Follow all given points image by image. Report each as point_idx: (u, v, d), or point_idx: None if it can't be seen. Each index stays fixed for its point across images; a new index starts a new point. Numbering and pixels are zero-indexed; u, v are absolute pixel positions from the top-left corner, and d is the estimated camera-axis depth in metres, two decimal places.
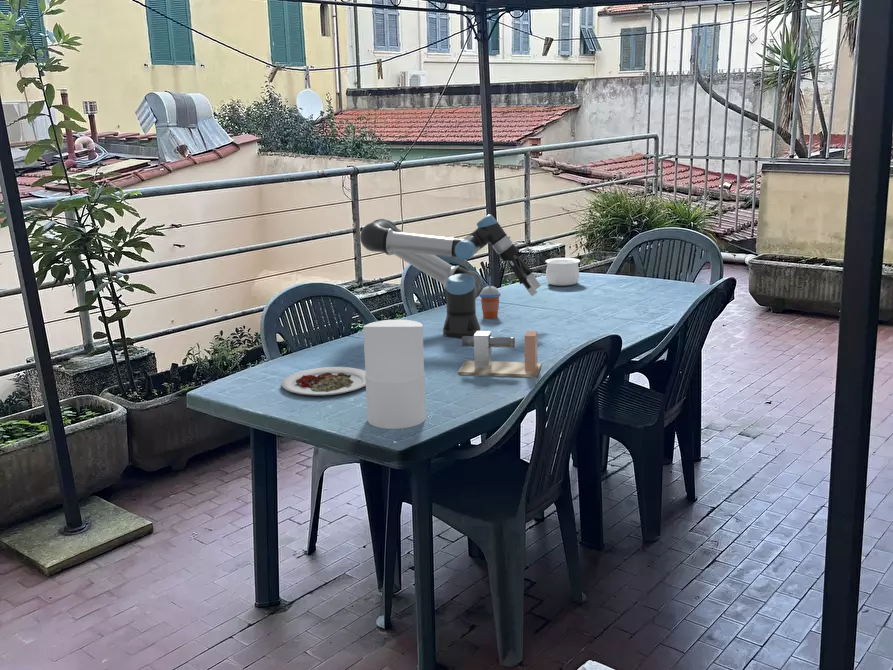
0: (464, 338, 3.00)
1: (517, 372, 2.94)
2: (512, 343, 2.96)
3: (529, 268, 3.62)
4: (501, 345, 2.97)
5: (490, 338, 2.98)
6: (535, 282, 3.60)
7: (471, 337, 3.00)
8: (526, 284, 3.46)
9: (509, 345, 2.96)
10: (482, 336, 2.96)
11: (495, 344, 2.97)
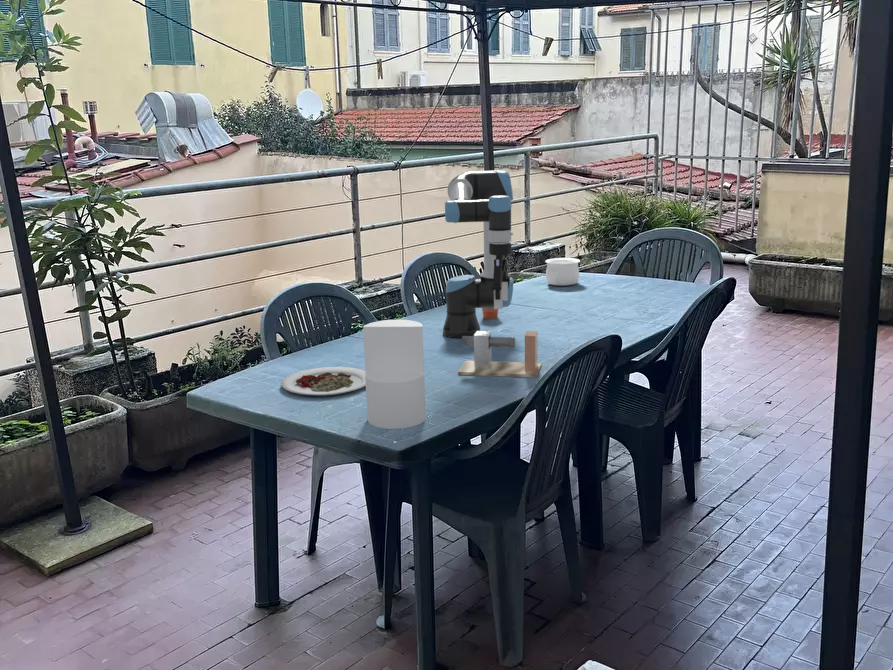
0: (464, 338, 3.00)
1: (517, 372, 2.94)
2: (512, 343, 2.96)
3: (507, 275, 3.03)
4: (501, 345, 2.97)
5: (490, 338, 2.98)
6: (504, 293, 3.01)
7: (471, 337, 3.00)
8: (497, 294, 2.87)
9: (509, 345, 2.96)
10: (482, 336, 2.96)
11: (495, 344, 2.97)
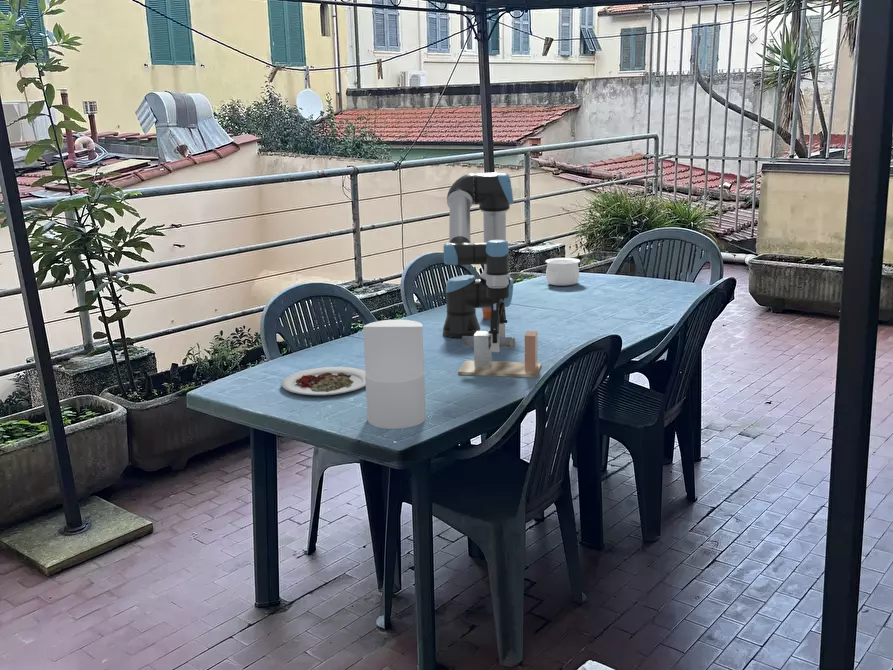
0: (464, 338, 3.00)
1: (517, 372, 2.94)
2: (512, 343, 2.96)
3: (505, 316, 3.06)
4: (501, 345, 2.97)
5: (490, 338, 2.98)
6: (502, 335, 3.04)
7: (471, 337, 3.00)
8: (494, 337, 2.90)
9: (509, 345, 2.96)
10: (482, 336, 2.96)
11: None
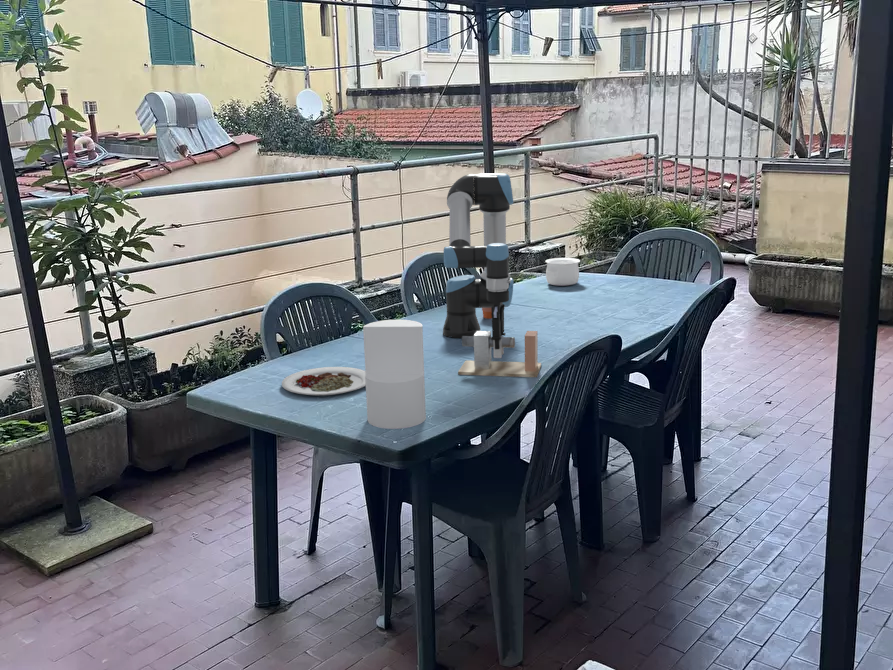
0: (464, 338, 3.00)
1: (517, 372, 2.94)
2: (512, 343, 2.96)
3: (503, 328, 3.02)
4: None
5: (490, 338, 2.98)
6: None
7: (471, 337, 3.00)
8: (496, 344, 2.95)
9: (509, 345, 2.96)
10: (482, 336, 2.96)
11: None
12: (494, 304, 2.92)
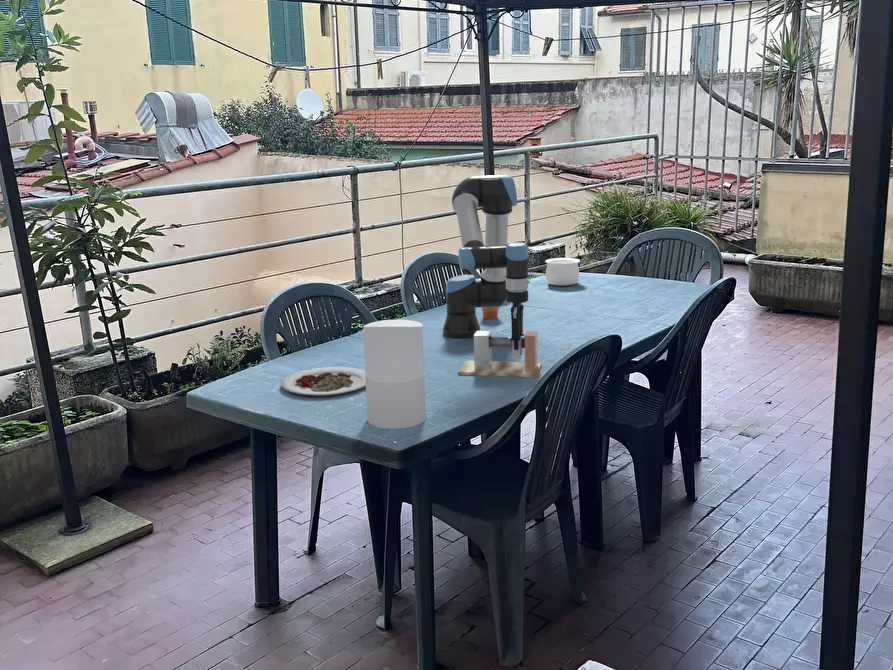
0: None
1: (517, 372, 2.94)
2: None
3: (522, 329, 3.01)
4: None
5: (509, 339, 2.97)
6: None
7: (490, 338, 2.98)
8: (515, 344, 2.94)
9: None
10: (482, 336, 2.96)
11: None
12: (513, 304, 2.90)
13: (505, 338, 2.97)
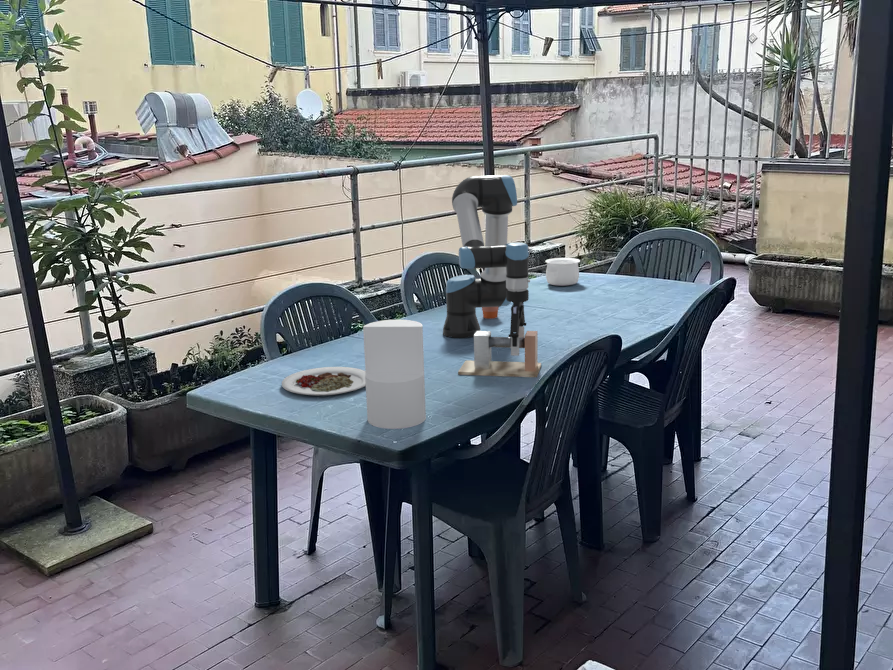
0: None
1: (517, 372, 2.94)
2: None
3: (524, 319, 3.04)
4: (520, 346, 2.96)
5: (509, 339, 2.97)
6: None
7: (490, 338, 2.98)
8: (514, 341, 2.89)
9: None
10: (482, 336, 2.96)
11: None
12: (514, 304, 2.90)
13: (505, 338, 2.97)
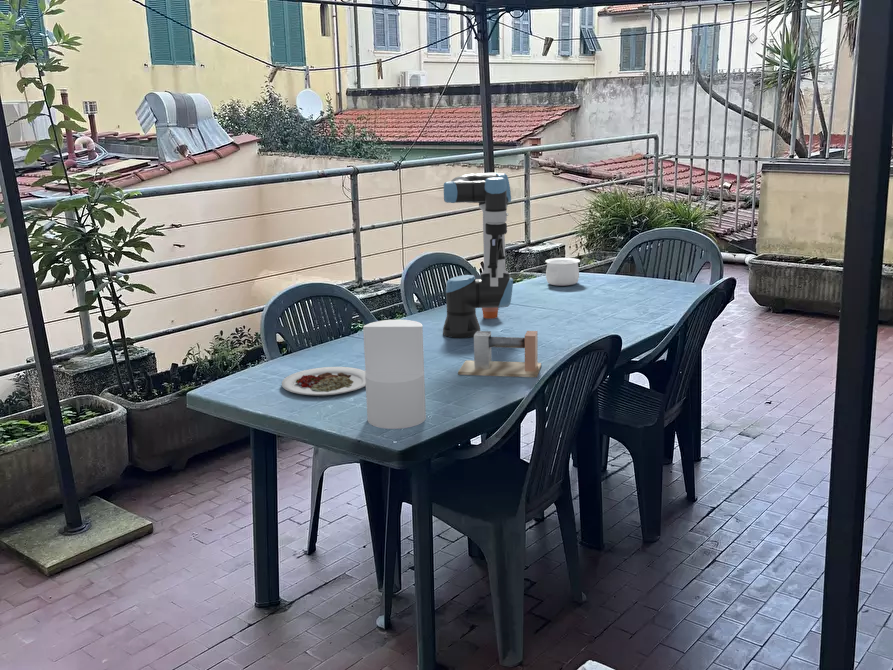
0: None
1: (517, 372, 2.94)
2: None
3: (503, 253, 3.16)
4: (520, 346, 2.96)
5: (509, 339, 2.97)
6: (500, 271, 3.15)
7: (490, 338, 2.98)
8: (493, 272, 3.01)
9: None
10: (482, 336, 2.96)
11: (514, 345, 2.96)
12: (493, 236, 3.02)
13: (505, 338, 2.97)
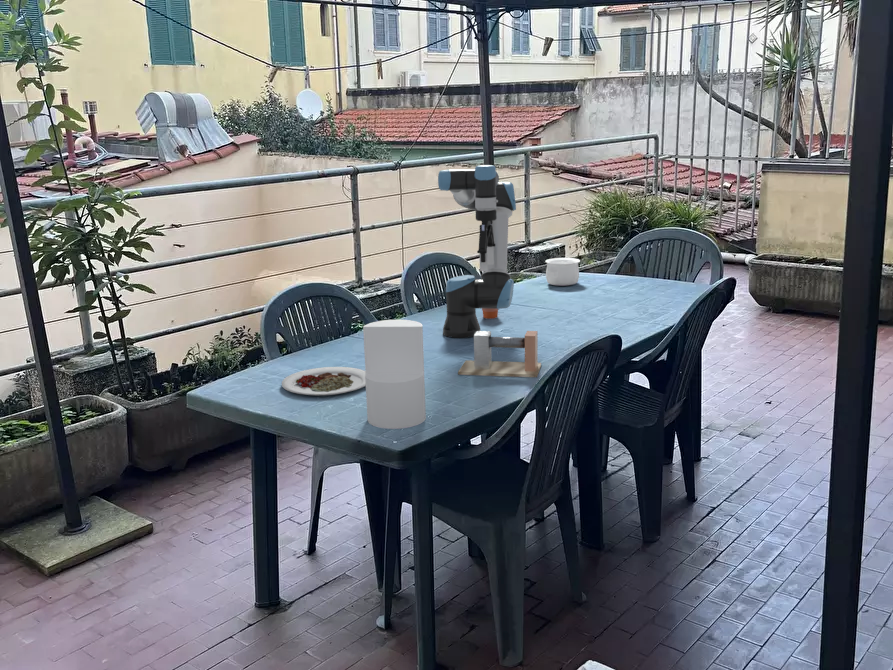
0: None
1: (517, 372, 2.94)
2: None
3: (493, 240, 3.23)
4: (520, 346, 2.96)
5: (509, 339, 2.97)
6: (490, 258, 3.22)
7: (490, 338, 2.98)
8: (482, 257, 3.07)
9: None
10: (482, 336, 2.96)
11: (514, 345, 2.96)
12: (482, 222, 3.09)
13: (505, 338, 2.97)
